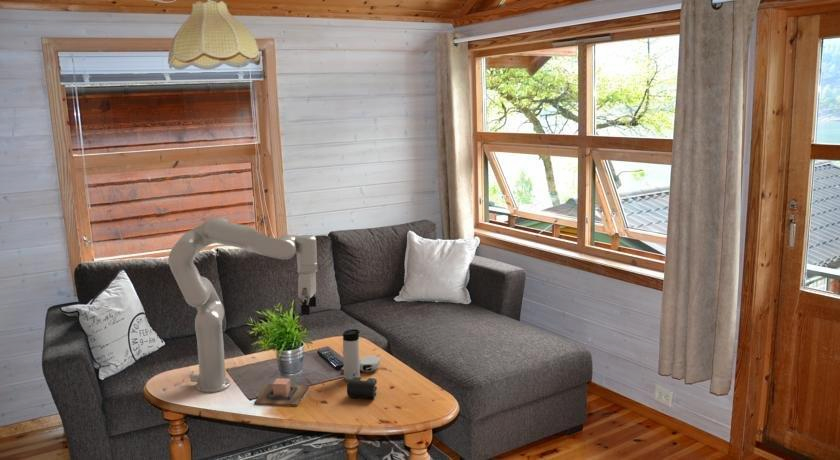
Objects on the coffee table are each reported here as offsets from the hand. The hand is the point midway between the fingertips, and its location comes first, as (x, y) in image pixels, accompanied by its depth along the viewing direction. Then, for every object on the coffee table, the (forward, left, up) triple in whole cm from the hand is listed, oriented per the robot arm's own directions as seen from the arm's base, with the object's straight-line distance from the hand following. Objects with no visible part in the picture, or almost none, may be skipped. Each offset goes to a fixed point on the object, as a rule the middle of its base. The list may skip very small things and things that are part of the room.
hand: (308, 310), depth 266 cm
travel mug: (+16, +2, -28) cm, 33 cm away
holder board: (-7, -16, -28) cm, 33 cm away
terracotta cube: (-7, -16, -28) cm, 33 cm away
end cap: (+23, -14, -29) cm, 39 cm away
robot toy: (+18, +12, -29) cm, 36 cm away
